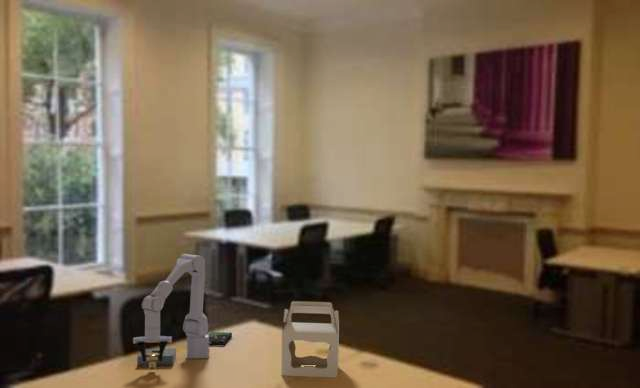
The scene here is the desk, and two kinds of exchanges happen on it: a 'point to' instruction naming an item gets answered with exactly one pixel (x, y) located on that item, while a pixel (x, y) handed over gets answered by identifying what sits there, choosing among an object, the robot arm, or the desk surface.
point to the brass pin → (152, 359)
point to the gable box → (310, 334)
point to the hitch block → (167, 360)
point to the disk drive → (219, 338)
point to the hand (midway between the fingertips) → (152, 360)
